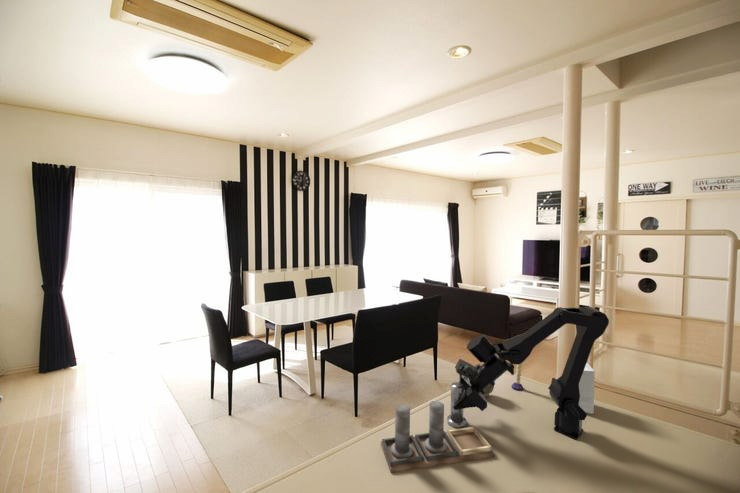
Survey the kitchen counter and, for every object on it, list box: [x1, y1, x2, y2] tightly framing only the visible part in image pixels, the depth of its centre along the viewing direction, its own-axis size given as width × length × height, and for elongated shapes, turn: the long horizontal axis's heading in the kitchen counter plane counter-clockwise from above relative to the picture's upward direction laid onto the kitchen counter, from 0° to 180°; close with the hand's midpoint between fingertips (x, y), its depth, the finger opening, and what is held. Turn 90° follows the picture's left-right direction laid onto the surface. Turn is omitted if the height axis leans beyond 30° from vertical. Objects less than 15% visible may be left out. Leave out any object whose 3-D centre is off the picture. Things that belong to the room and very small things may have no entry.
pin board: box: [380, 400, 495, 473], centre depth 94 cm, size 30×11×14 cm, turn 102°
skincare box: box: [579, 362, 596, 415], centre depth 116 cm, size 8×6×15 cm
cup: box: [480, 380, 496, 399], centre depth 123 cm, size 8×7×8 cm
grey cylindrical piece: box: [446, 381, 467, 429], centre depth 107 cm, size 6×6×12 cm
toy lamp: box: [511, 363, 524, 392], centre depth 128 cm, size 5×5×17 cm
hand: (452, 402), depth 107 cm, fingers open, 6 cm apart
